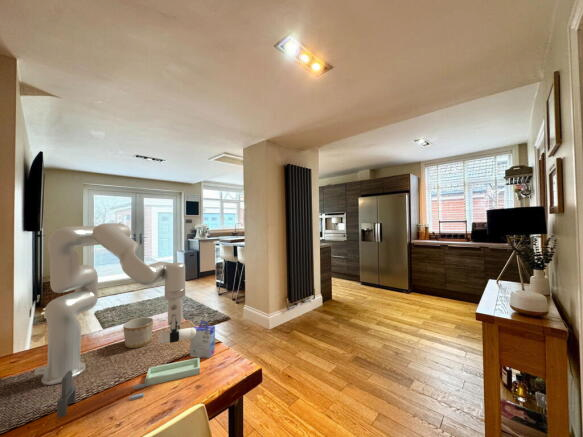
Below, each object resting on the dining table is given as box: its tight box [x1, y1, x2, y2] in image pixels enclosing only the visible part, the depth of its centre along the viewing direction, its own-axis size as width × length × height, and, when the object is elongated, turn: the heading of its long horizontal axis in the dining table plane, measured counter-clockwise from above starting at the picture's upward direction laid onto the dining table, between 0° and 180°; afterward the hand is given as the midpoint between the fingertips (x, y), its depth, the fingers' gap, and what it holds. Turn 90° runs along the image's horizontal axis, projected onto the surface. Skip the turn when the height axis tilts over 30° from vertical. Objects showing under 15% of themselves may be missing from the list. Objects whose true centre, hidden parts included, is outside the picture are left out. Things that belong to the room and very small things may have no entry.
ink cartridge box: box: [189, 320, 216, 359], centre depth 107 cm, size 10×6×14 cm, turn 84°
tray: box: [144, 357, 201, 387], centre depth 93 cm, size 19×8×2 cm, turn 112°
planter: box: [123, 317, 154, 349], centre depth 117 cm, size 13×13×10 cm
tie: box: [56, 370, 77, 419], centre depth 76 cm, size 2×7×11 cm, turn 22°
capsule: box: [157, 327, 196, 344], centre depth 94 cm, size 14×4×4 cm, turn 112°
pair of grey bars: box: [129, 382, 148, 401], centre depth 83 cm, size 4×7×1 cm, turn 22°
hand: (174, 338), depth 94 cm, fingers closed on capsule, 4 cm apart
